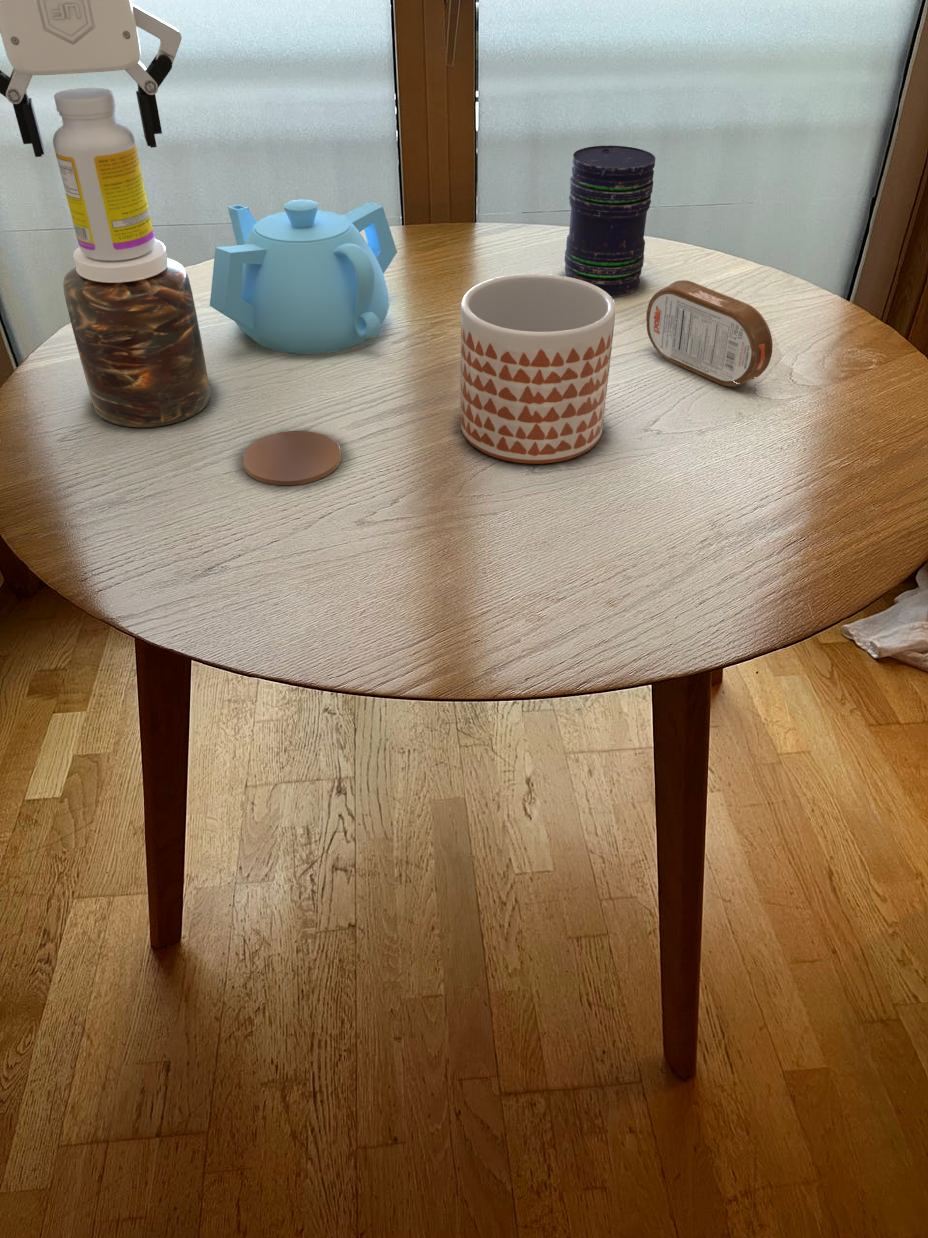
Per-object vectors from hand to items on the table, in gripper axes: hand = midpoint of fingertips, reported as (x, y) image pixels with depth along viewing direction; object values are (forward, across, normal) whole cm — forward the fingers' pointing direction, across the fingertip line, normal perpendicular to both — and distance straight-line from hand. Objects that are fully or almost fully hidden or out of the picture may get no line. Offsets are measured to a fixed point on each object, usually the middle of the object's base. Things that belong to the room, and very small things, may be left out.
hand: (96, 147), depth 82 cm
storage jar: (+24, +57, +14) cm, 63 cm away
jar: (+24, 0, 0) cm, 24 cm away
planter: (+24, +34, -18) cm, 45 cm away
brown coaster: (+24, +11, -16) cm, 31 cm away
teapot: (+24, +19, +13) cm, 33 cm away
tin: (+24, +56, -12) cm, 62 cm away
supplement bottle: (+9, 0, 0) cm, 9 cm away
